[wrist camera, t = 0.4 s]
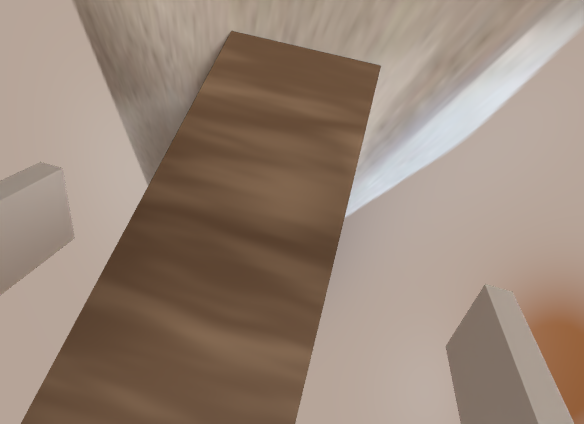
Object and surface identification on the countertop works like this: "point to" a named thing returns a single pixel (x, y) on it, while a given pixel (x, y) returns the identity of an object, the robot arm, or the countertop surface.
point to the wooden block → (223, 251)
